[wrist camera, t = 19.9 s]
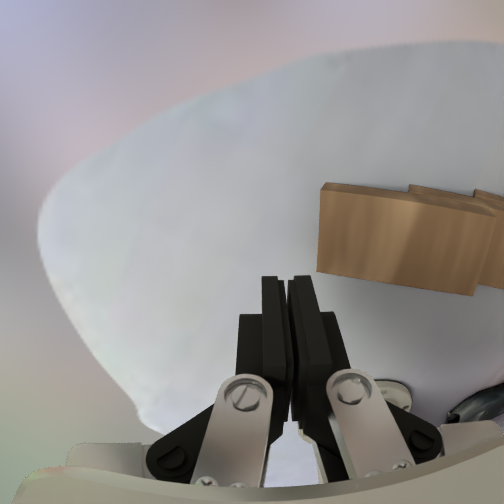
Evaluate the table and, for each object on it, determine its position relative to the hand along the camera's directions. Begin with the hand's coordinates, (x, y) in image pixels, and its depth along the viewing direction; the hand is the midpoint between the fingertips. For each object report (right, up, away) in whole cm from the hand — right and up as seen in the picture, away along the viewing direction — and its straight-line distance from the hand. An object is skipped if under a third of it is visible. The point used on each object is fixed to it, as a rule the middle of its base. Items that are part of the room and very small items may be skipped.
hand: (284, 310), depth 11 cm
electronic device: (+33, -19, +20) cm, 43 cm away
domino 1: (+3, +3, +7) cm, 8 cm away
